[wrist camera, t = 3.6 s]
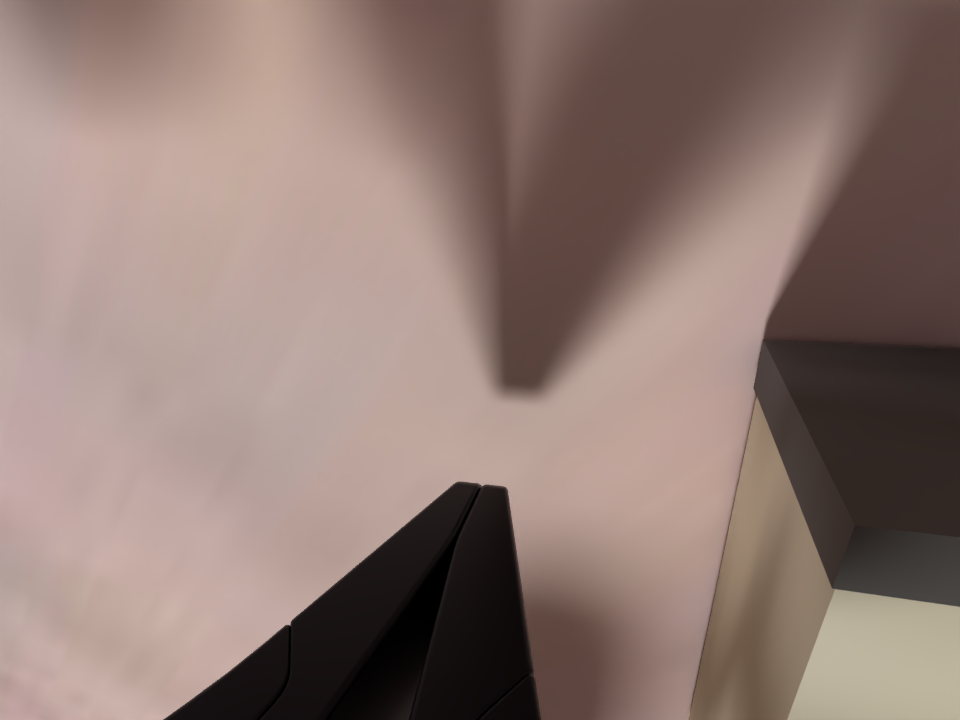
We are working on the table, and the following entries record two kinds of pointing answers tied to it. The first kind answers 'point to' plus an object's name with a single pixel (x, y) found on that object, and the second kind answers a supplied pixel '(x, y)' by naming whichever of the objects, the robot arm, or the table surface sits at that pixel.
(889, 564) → the leg
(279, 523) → the table surface
